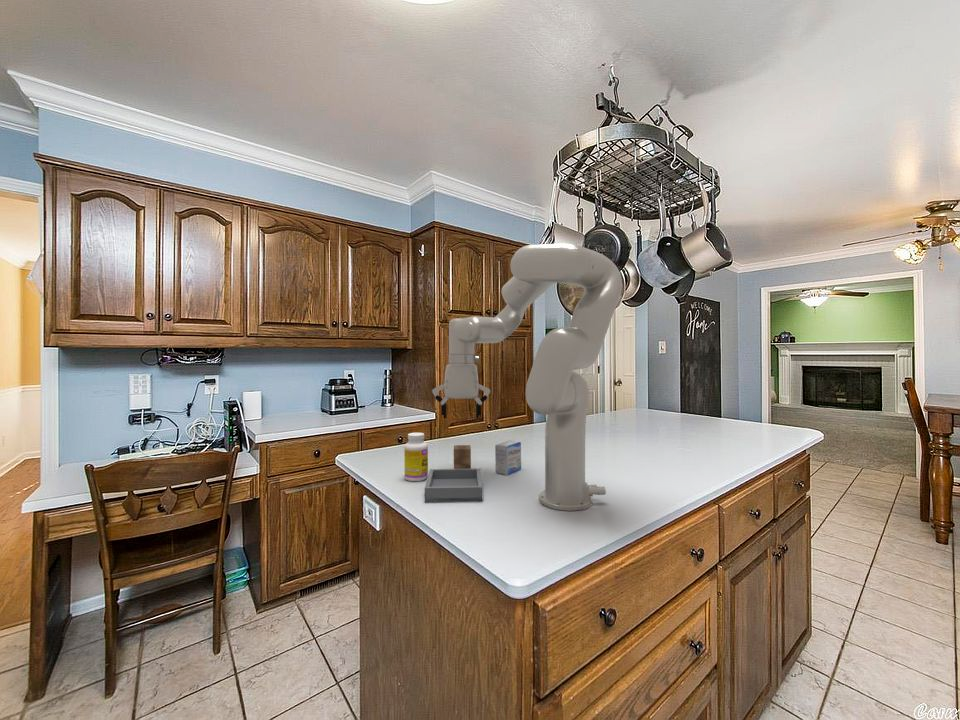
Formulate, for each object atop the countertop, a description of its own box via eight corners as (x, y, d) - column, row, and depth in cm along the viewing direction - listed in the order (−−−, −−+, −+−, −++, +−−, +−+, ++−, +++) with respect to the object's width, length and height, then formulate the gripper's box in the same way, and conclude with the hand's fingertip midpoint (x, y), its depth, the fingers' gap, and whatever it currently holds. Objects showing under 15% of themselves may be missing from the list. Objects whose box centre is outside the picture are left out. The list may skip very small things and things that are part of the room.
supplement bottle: (424, 482, 115) (423, 436, 115) (401, 481, 116) (400, 436, 116) (430, 475, 121) (430, 432, 121) (409, 474, 123) (408, 431, 122)
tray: (480, 480, 116) (480, 468, 116) (482, 501, 100) (482, 487, 100) (430, 481, 116) (430, 469, 116) (424, 502, 100) (424, 488, 100)
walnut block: (470, 471, 126) (470, 445, 125) (470, 476, 121) (470, 449, 120) (454, 471, 125) (454, 445, 125) (453, 476, 120) (453, 449, 120)
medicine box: (507, 475, 121) (507, 446, 121) (495, 472, 124) (494, 444, 124) (521, 469, 127) (521, 441, 127) (509, 466, 130) (509, 439, 130)
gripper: (489, 359, 126) (489, 415, 127) (433, 359, 126) (433, 415, 126) (491, 360, 119) (491, 419, 119) (431, 360, 118) (431, 419, 119)
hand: (461, 417), depth 123 cm, fingers open, 9 cm apart
